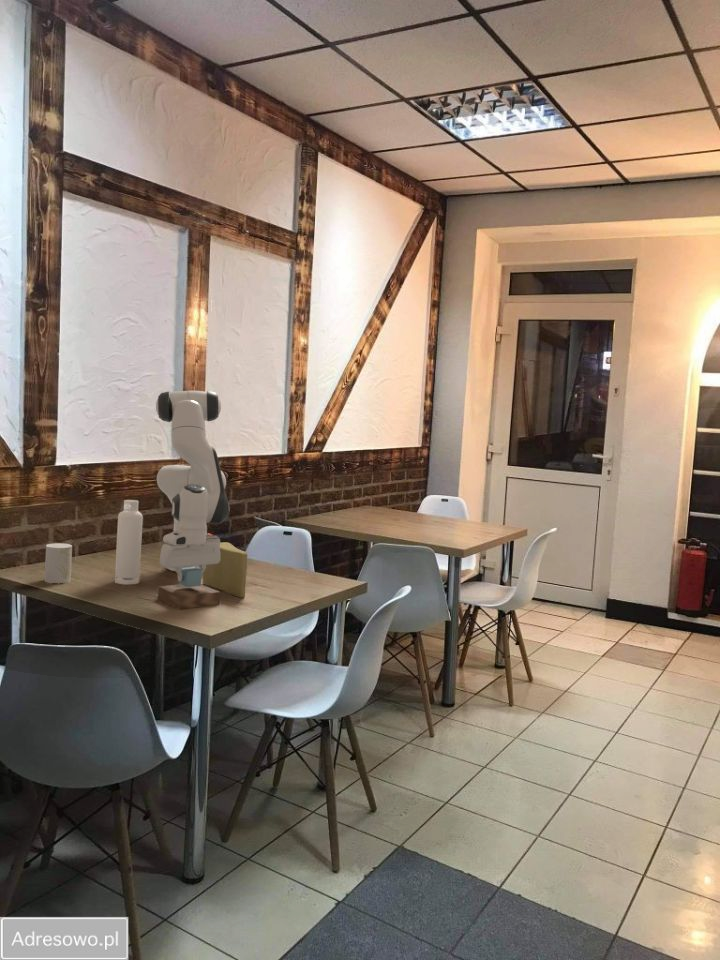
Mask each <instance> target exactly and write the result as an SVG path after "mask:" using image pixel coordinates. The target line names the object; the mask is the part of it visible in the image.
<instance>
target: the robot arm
mask: <svg viewBox="0 0 720 960" xmlns="http://www.w3.org/2000/svg"><path fill="white" fill-rule="evenodd" d="M221 410H222V403H221V400H220V397H219V395H218V394H217V393H216V392H214V391H210V390H207V391H202V390H179V391H178V390H177V391H165V392H164V391H163V392H161V393H159V395H158V396H157V400H156V402H155V411H156V414H157V416H158V418H159V419H160V420H161V421H163V422H166V423H171V431H170V432H171V444H172V448H173V450H174V451H175V452H176V455H177V456H178V457H179V458H180V459H182V460H184V461H186V462H187V464H188V465H184V464H182V465H181V464H169V465H164V466H162V467H161V468H160V469H159V471H158V472H157V475H156V483H157V487H158V488H159V490H160V491H162V492H163V494H164V495H166V497H167V499H168V500H169V501H170V503H171V516H172V517H173V530H172V532H170V533H167V534H165V535H164V536H163V537H162V540H163V542H164V543H163V545H162V546H161V548H160V549H161V550H160V553H159V554H160V555H159V564H160V567H162V568H164V569H167V570H169V571H173V572H176V574H177V581H178V582H179V581H184V578H185V575H182V573H181V571H180V570H182V568H188V567H195V568H197V569H200V570H202V572H201V580H203V572H204V571H205V569H206V565H211V564H218V563H219V562H220V543H221V538H220V537H219V536H218V535H216V534H215V535H214V534H212V533H208V526H207V523H209V524H213V525H220V524H222V523H223V522H224V521H226V520H227V519H228V518H229V516H230V503H229V499H228V495H227V493H226V486H227V479H226V475H225V474H224V471H222V470H221V466H220V462H219V461H220V460H219V457H218V454H217V452H216V449H215V448H214V446H211V444H209V442H208V439H207V438H206V422H213V421H215V420H217V419H218V418H219V415H220V413H221Z"/></svg>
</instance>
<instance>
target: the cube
mask: <svg viewBox="0 0 720 960" xmlns="http://www.w3.org/2000/svg"><path fill="white" fill-rule="evenodd" d="M180 571H181V573H182V575H185V578H184V581H178V584H180V585H183V586H185V587H193V586H201V584H202V579H201V572H202V570H200V569H197V568H195V567H188V568H182V570H180Z"/></svg>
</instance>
